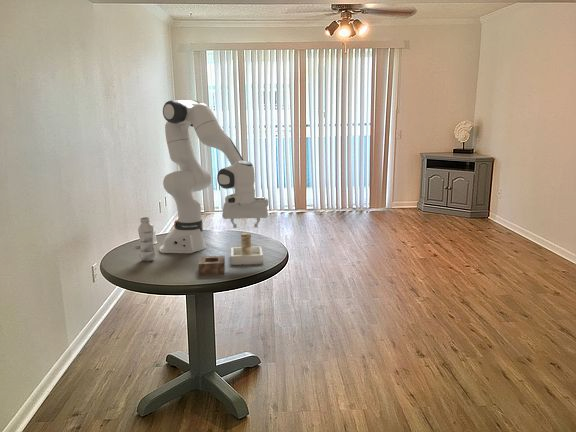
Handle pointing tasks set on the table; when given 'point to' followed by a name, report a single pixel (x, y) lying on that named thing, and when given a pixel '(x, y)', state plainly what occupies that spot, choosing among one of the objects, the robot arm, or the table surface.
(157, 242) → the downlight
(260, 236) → the table surface
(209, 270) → the socket
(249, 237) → the pin
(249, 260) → the tray
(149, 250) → the plastic bottle
